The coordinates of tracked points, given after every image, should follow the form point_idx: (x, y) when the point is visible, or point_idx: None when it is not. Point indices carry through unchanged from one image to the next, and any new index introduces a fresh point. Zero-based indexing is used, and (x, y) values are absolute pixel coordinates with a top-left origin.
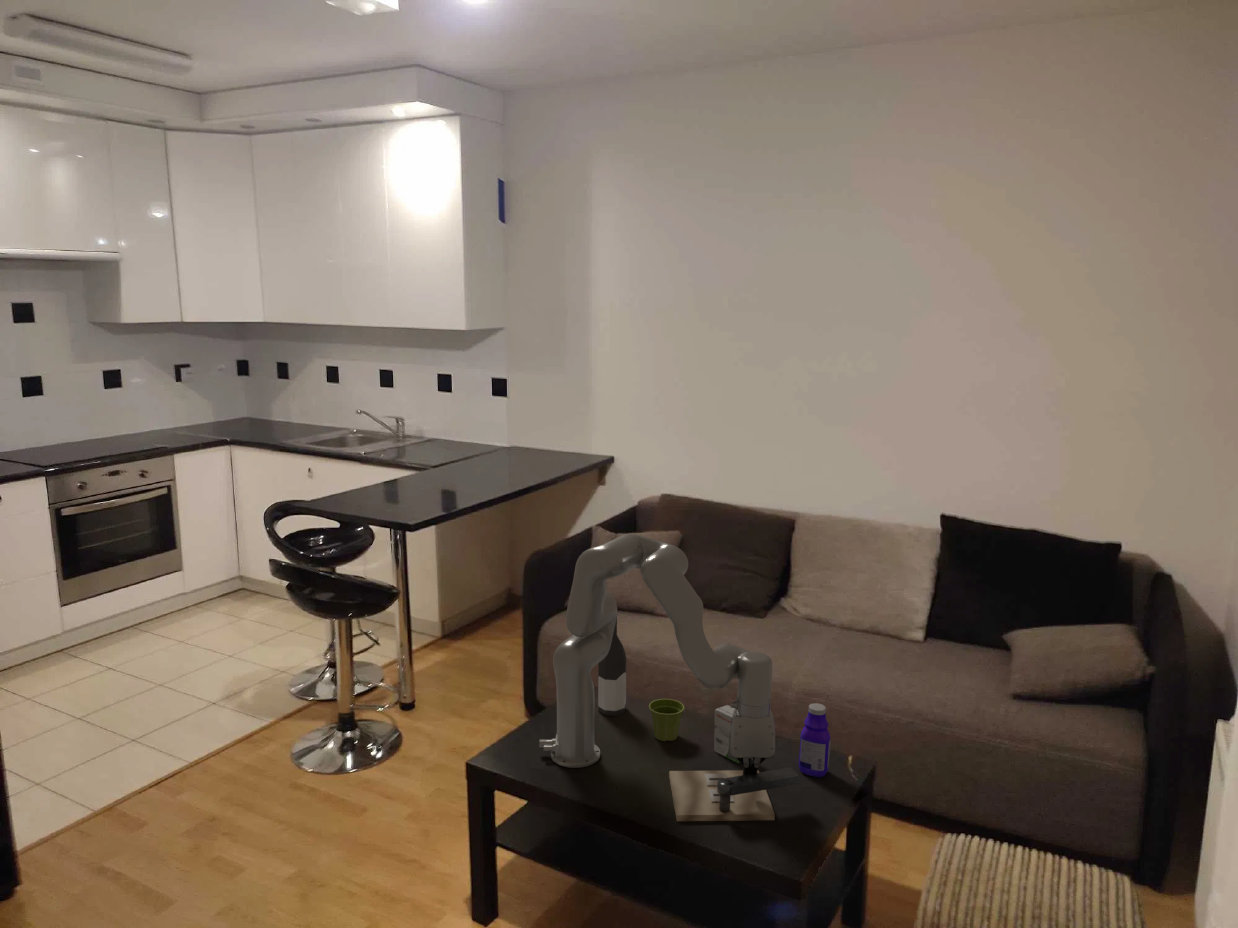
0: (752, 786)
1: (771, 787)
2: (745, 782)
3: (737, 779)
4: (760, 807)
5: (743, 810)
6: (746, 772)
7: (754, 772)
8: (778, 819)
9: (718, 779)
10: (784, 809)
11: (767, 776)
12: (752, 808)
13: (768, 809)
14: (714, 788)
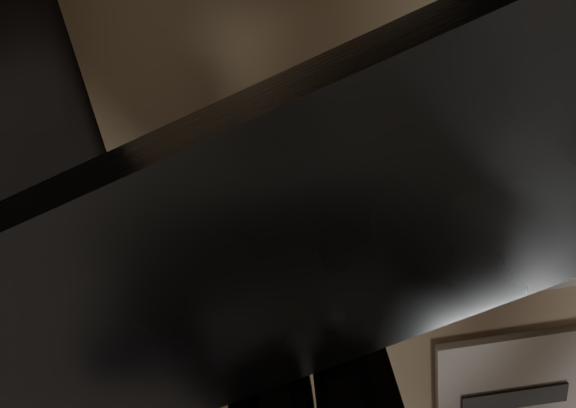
0: (302, 83)
1: (25, 192)
2: (434, 123)
3: (556, 199)
4: (200, 89)
5: (360, 17)
6: (370, 398)
7: (263, 399)
8: (44, 4)
9: (504, 393)
10: (18, 162)
11: (62, 343)
12: (274, 63)
13: (125, 67)
14: (547, 302)
